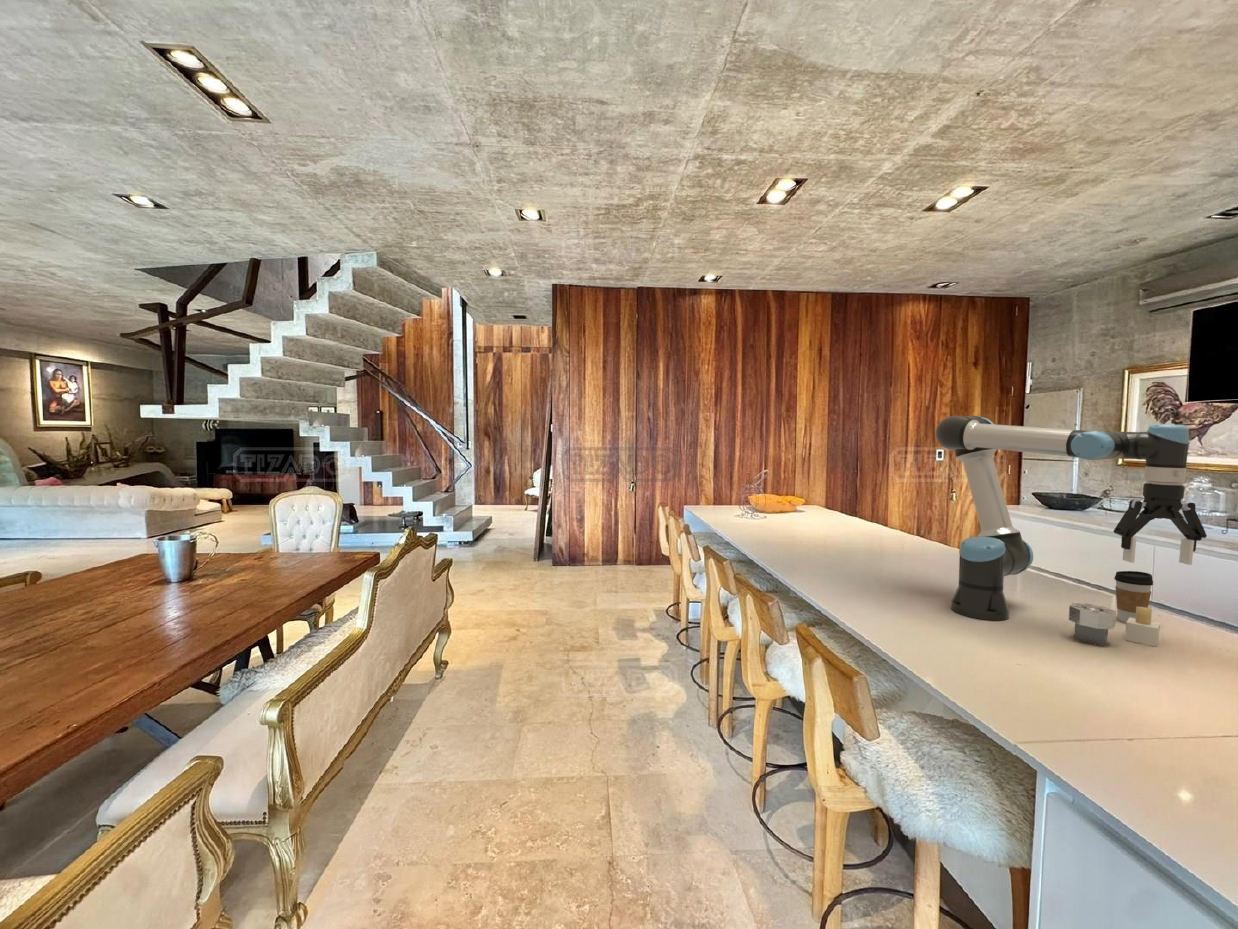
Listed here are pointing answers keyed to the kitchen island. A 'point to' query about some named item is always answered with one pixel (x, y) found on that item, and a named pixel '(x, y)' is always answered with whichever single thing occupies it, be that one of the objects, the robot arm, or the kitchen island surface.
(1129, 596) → the coffee cup
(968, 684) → the kitchen island surface
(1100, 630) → the stand
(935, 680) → the kitchen island surface
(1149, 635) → the hub
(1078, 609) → the ring
